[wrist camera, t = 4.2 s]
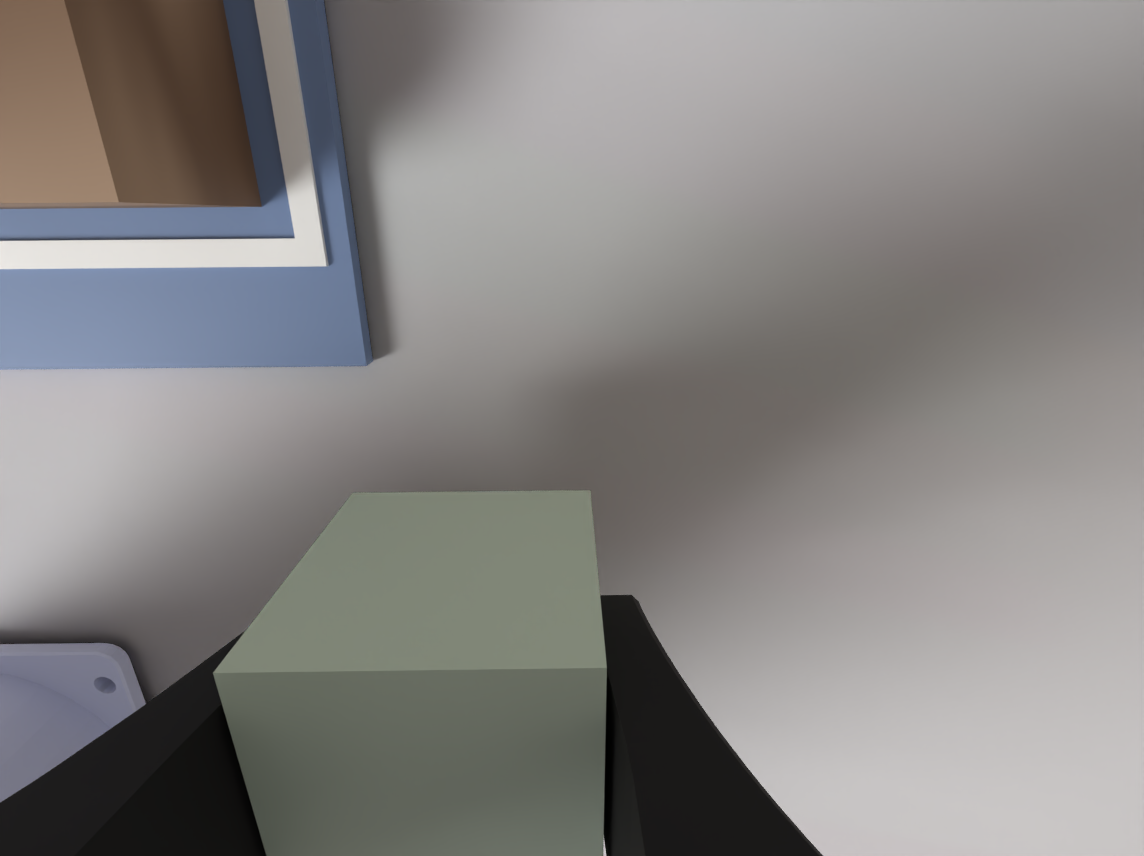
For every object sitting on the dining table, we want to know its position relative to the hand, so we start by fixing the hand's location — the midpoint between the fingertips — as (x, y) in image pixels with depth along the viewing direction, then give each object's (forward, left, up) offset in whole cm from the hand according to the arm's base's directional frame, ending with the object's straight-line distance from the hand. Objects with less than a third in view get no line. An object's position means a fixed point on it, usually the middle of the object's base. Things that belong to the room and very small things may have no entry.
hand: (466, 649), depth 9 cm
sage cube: (0, 0, -2) cm, 2 cm away
